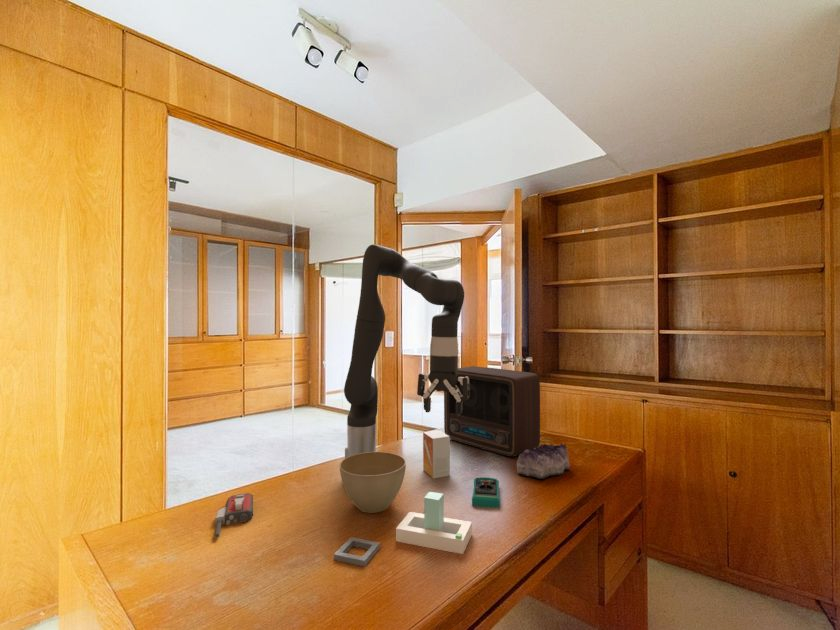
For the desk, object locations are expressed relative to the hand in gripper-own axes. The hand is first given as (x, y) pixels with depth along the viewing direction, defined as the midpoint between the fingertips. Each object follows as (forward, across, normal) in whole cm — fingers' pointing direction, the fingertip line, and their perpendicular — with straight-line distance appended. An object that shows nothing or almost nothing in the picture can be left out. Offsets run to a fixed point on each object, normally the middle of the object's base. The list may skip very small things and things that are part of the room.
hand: (442, 413), depth 113 cm
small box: (+26, -10, +25) cm, 38 cm away
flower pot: (+27, -18, -5) cm, 33 cm away
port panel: (+26, +3, -14) cm, 30 cm away
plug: (+26, +3, -14) cm, 30 cm away
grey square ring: (+26, -10, -26) cm, 39 cm away
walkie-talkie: (+28, -48, -24) cm, 61 cm away
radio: (+26, -1, +60) cm, 66 cm away
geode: (+26, +23, +39) cm, 52 cm away
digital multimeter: (+26, +9, +14) cm, 31 cm away
